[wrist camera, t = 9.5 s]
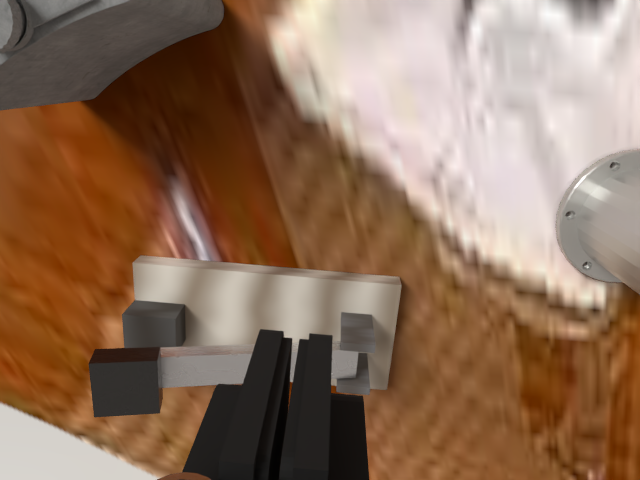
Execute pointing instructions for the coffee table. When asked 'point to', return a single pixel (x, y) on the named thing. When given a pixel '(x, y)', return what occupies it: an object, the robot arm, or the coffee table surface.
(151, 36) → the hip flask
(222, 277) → the base
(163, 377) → the lever
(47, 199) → the coffee table surface
